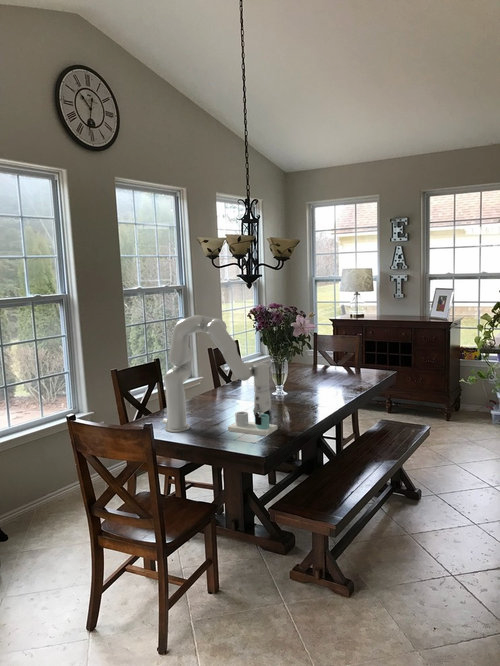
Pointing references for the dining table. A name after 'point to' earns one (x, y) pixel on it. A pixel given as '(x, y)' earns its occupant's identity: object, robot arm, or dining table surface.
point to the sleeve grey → (241, 418)
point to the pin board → (252, 429)
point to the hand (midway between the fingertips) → (262, 421)
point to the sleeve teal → (264, 422)
